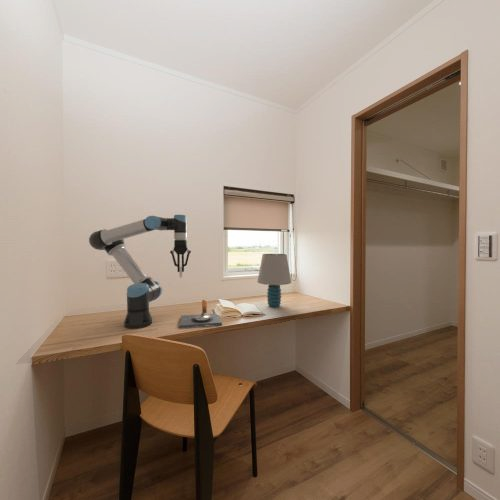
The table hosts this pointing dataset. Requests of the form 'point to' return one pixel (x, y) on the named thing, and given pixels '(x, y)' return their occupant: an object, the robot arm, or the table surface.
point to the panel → (190, 322)
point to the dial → (203, 313)
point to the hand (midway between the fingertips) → (180, 277)
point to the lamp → (274, 276)
